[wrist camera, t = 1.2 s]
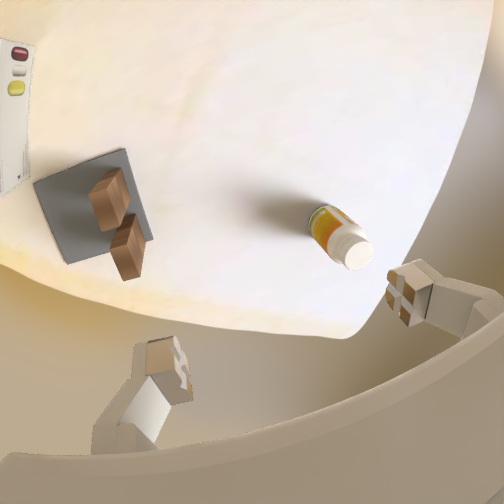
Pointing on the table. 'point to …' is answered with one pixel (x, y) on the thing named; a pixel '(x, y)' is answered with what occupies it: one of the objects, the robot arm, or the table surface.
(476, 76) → the table surface
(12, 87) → the supplement box
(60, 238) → the slate rubber mat
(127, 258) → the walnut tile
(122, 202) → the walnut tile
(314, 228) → the supplement bottle
